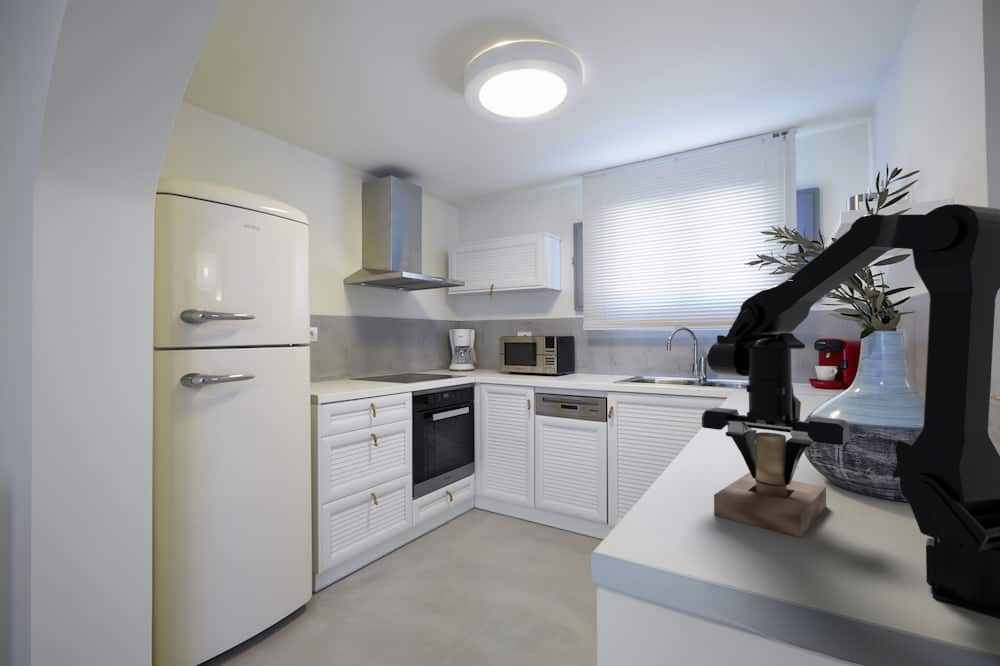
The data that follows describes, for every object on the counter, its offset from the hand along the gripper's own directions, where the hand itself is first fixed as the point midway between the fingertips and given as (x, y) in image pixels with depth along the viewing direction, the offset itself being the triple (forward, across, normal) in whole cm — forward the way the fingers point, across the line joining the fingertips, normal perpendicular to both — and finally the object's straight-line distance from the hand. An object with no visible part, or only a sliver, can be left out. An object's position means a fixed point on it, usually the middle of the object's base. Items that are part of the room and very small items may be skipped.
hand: (771, 480), depth 69 cm
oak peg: (+3, 0, 0) cm, 3 cm away
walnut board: (+4, 0, 0) cm, 4 cm away
